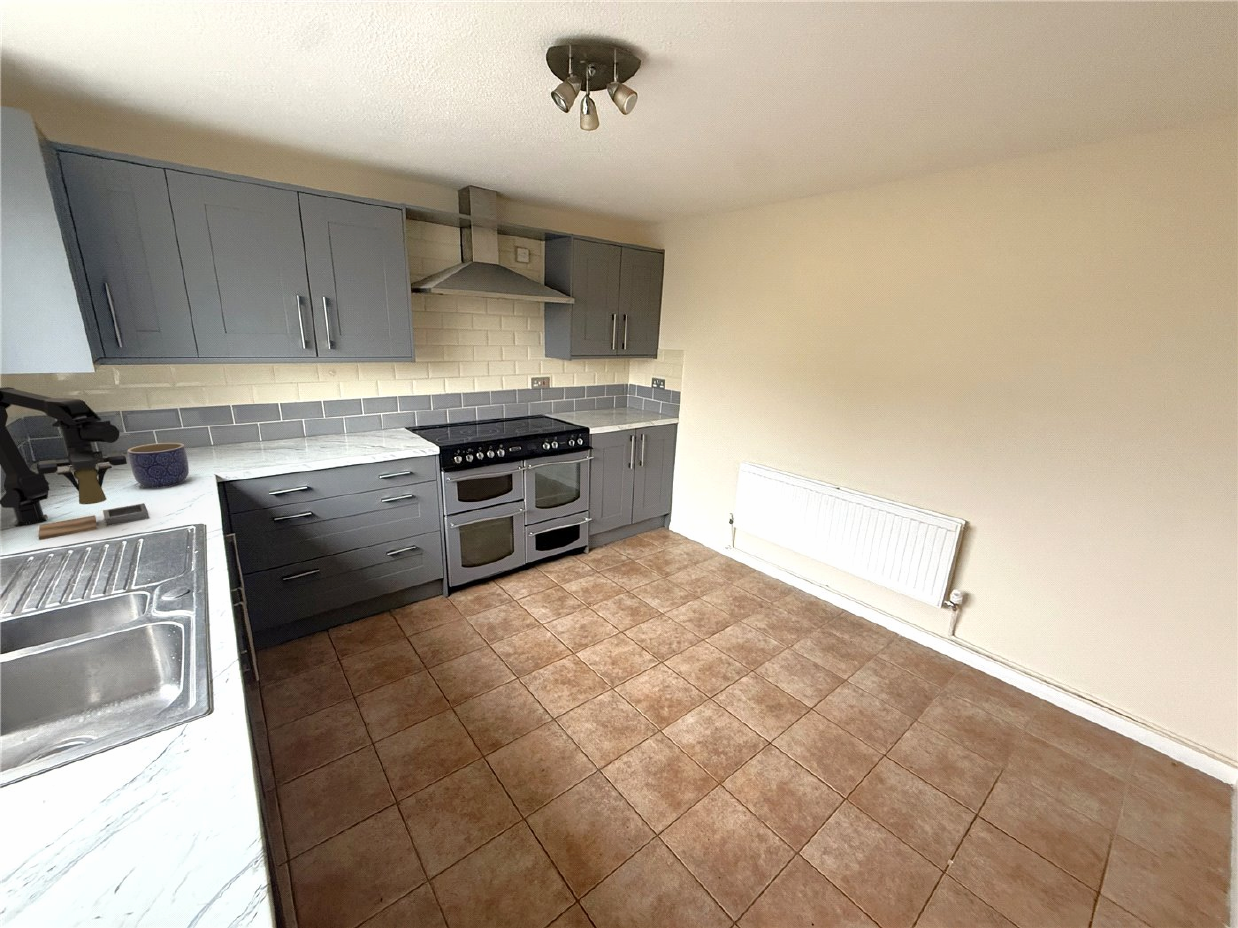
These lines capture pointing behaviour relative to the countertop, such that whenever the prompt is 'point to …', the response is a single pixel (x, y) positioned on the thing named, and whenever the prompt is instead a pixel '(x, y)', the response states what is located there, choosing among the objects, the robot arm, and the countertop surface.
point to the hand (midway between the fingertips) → (89, 489)
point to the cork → (89, 486)
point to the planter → (159, 464)
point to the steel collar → (125, 514)
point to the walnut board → (67, 527)
